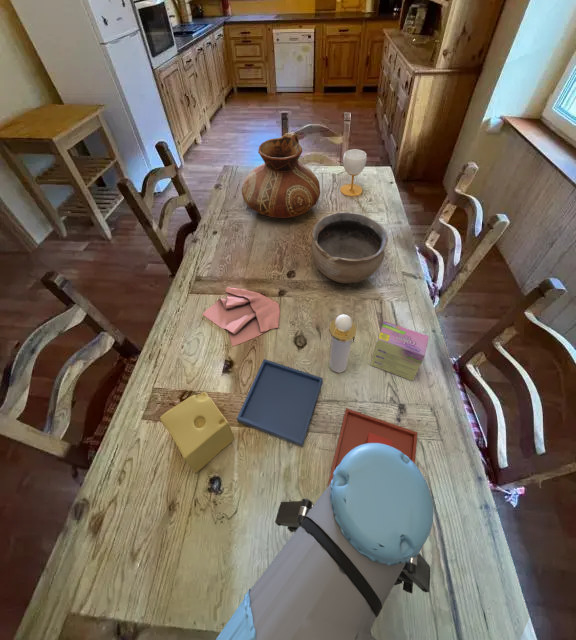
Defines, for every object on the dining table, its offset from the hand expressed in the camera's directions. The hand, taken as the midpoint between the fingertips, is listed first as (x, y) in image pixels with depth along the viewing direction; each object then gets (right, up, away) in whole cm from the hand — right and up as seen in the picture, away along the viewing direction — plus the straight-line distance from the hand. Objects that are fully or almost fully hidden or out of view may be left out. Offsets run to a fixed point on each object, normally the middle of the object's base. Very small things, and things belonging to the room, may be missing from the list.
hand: (344, 550), depth 50 cm
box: (+18, +17, +34) cm, 42 cm away
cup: (+18, +71, +91) cm, 116 cm away
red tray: (+9, +2, +19) cm, 21 cm away
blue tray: (-10, +10, +29) cm, 32 cm away
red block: (+9, +2, +19) cm, 21 cm away
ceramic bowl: (+10, +39, +58) cm, 71 cm away
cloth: (-22, +27, +47) cm, 59 cm away
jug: (-11, +64, +85) cm, 107 cm away
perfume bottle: (+4, +16, +35) cm, 38 cm away
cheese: (-27, +4, +24) cm, 36 cm away
